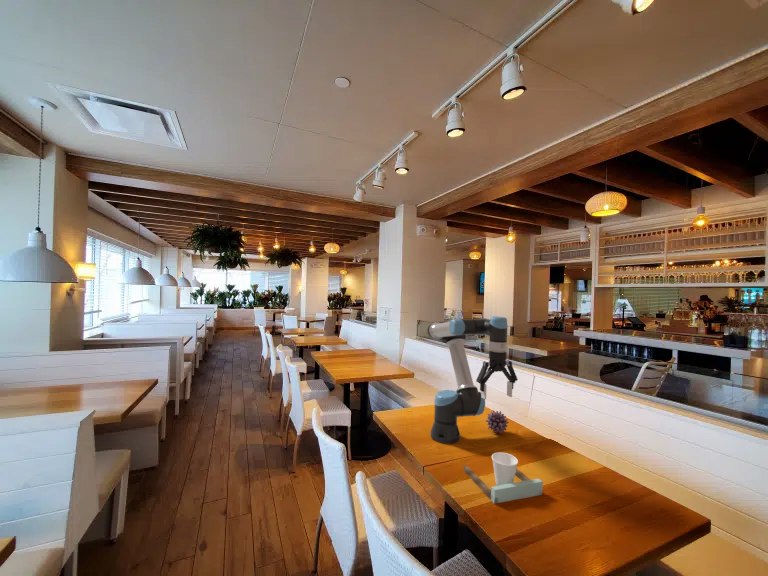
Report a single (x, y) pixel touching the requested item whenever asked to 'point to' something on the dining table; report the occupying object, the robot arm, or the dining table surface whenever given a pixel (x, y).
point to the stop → (516, 490)
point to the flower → (497, 421)
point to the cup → (504, 467)
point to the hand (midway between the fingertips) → (496, 397)
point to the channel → (483, 485)
